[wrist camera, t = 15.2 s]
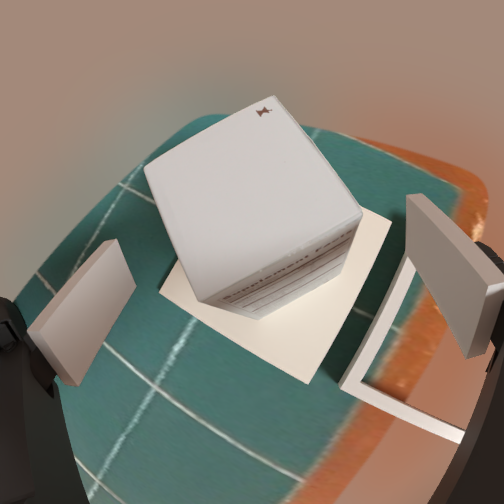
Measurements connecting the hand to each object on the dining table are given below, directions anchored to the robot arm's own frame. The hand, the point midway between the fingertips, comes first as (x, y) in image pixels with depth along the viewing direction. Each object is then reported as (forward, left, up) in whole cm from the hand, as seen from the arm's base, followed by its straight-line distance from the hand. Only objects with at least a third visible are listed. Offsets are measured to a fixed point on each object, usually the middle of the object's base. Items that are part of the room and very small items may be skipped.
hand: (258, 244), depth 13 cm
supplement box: (-1, +2, -11) cm, 11 cm away
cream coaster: (-2, +2, -12) cm, 12 cm away
